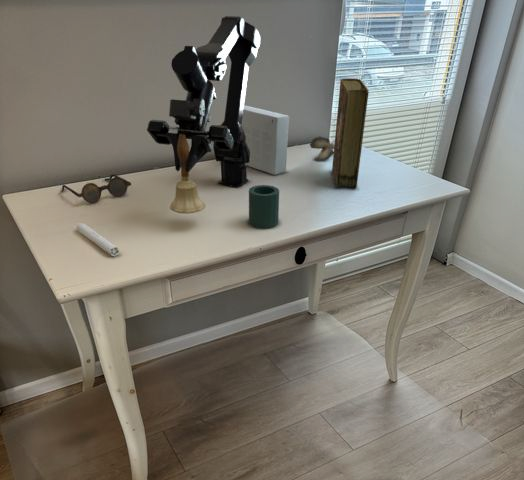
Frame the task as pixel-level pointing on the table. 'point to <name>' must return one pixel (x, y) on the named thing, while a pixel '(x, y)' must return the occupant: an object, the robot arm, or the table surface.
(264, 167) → the skincare box
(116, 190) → the eyeglasses
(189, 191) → the hand bell
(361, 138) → the book
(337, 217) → the table surface
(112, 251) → the white cylindrical rod
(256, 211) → the jar
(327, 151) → the open clam shell
